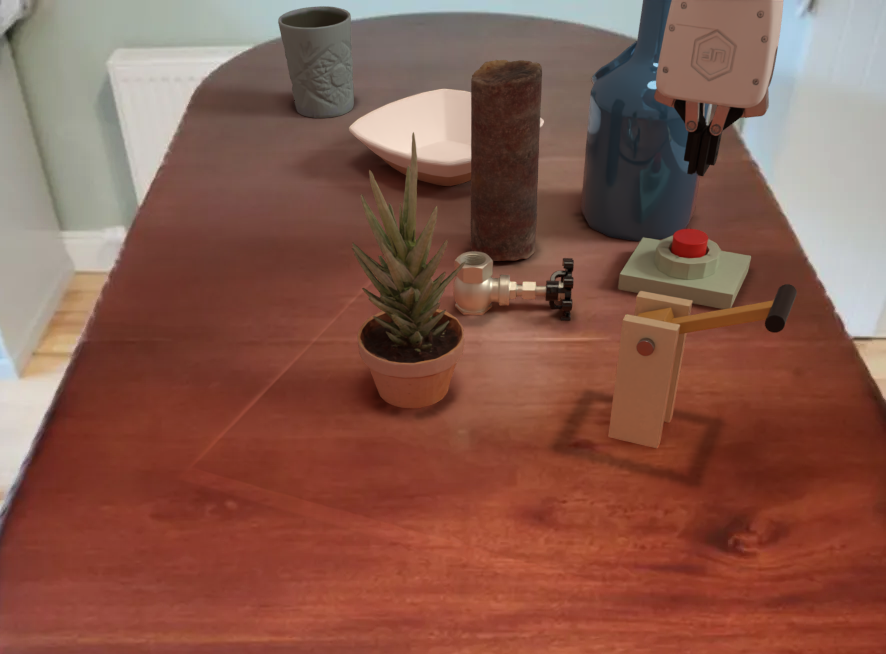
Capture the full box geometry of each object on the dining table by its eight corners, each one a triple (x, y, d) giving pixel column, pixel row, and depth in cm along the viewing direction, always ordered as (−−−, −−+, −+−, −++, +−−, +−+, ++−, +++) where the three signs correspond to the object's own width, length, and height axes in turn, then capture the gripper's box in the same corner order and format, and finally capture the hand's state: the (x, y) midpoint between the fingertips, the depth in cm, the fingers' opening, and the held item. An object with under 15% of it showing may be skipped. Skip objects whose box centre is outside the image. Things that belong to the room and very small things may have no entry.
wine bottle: (712, 213, 120) (765, -84, 98) (659, 257, 112) (704, -54, 91) (612, 186, 126) (641, -100, 104) (556, 226, 118) (575, -73, 97)
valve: (451, 335, 102) (569, 337, 101) (450, 275, 97) (574, 276, 96) (455, 302, 106) (568, 304, 106) (454, 243, 102) (573, 244, 101)
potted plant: (387, 442, 90) (367, 165, 72) (348, 389, 96) (320, 121, 78) (486, 412, 92) (490, 138, 75) (442, 362, 98) (436, 98, 81)
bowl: (563, 160, 131) (565, 118, 128) (451, 216, 121) (450, 172, 117) (443, 120, 142) (442, 81, 138) (331, 168, 131) (326, 127, 128)
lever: (799, 305, 77) (793, 276, 76) (787, 336, 74) (781, 307, 73) (650, 330, 84) (643, 304, 83) (634, 361, 81) (626, 334, 80)
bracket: (717, 427, 90) (745, 297, 81) (692, 485, 84) (720, 353, 75) (589, 398, 94) (602, 271, 84) (558, 453, 88) (568, 322, 79)
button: (709, 247, 106) (712, 231, 105) (700, 262, 104) (703, 246, 103) (675, 241, 107) (678, 226, 106) (667, 256, 105) (669, 240, 104)
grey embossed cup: (354, 119, 143) (347, 26, 135) (284, 120, 143) (272, 28, 135) (360, 94, 150) (353, 4, 142) (293, 95, 151) (282, 5, 142)
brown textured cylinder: (513, 277, 110) (520, 83, 96) (457, 261, 113) (455, 70, 99) (546, 248, 114) (557, 59, 100) (491, 234, 117) (494, 48, 103)
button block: (747, 274, 109) (754, 239, 106) (729, 314, 103) (736, 278, 101) (640, 255, 113) (645, 221, 110) (617, 292, 107) (621, 257, 104)
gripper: (639, -41, 86) (615, 172, 99) (817, -22, 82) (766, 198, 95) (662, -62, 91) (636, 144, 104) (831, -46, 86) (781, 167, 100)
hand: (698, 169), depth 99 cm, fingers closed
